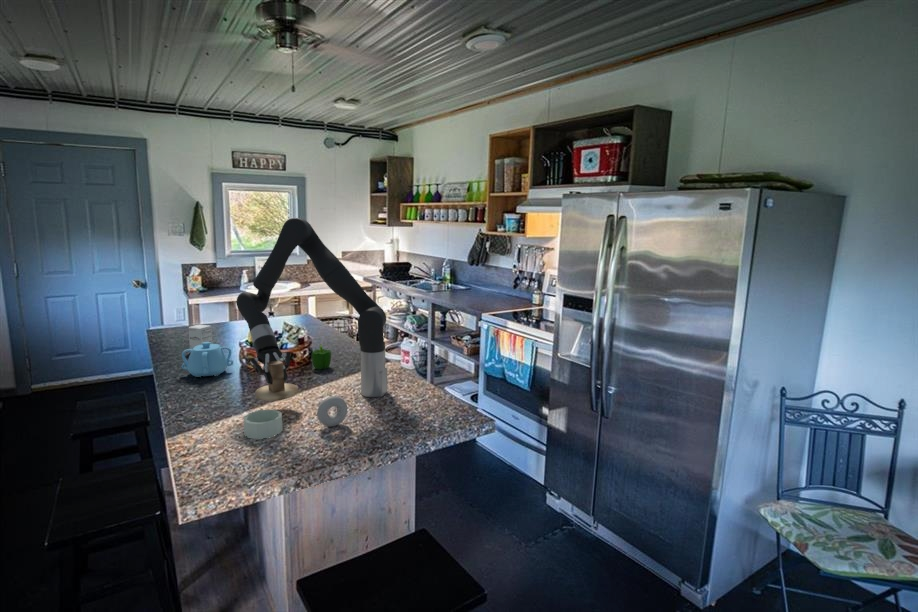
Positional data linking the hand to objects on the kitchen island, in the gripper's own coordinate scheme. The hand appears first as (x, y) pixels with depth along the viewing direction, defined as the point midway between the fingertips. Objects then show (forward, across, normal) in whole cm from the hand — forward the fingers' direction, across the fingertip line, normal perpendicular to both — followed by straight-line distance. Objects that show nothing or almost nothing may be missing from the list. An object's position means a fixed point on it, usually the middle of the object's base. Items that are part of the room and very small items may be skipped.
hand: (278, 381), depth 171 cm
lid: (+2, 0, +5) cm, 5 cm away
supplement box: (-60, -4, +75) cm, 96 cm away
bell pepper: (-19, +32, +35) cm, 51 cm away
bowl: (+16, -9, -1) cm, 19 cm away
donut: (+23, +10, -6) cm, 26 cm away
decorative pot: (-34, -10, +49) cm, 60 cm away
